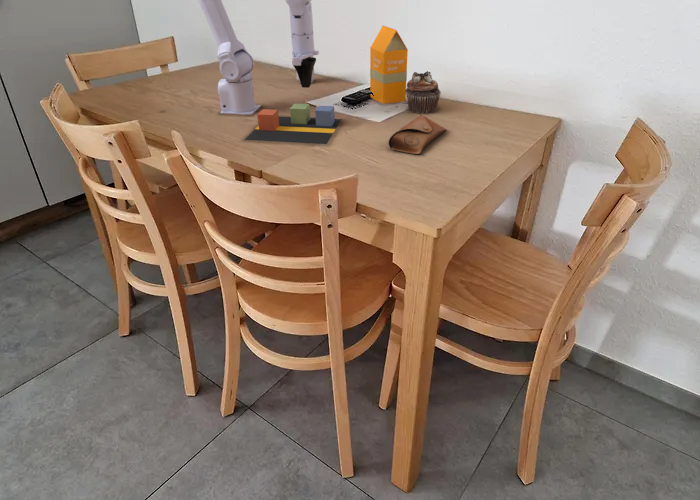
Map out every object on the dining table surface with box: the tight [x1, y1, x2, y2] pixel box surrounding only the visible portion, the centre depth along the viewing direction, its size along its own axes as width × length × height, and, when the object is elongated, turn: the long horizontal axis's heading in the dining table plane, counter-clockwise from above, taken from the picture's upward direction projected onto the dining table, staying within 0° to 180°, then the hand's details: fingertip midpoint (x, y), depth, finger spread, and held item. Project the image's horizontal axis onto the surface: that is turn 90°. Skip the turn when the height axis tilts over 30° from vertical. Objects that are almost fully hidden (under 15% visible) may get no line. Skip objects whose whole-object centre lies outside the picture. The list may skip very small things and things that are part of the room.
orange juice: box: [369, 25, 409, 105], centre depth 143 cm, size 8×9×20 cm
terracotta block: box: [256, 108, 280, 131], centre depth 128 cm, size 4×4×4 cm
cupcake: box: [406, 70, 442, 114], centre depth 137 cm, size 10×10×10 cm
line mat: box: [244, 116, 342, 145], centre depth 128 cm, size 21×18×1 cm
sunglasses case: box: [388, 113, 448, 155], centre depth 120 cm, size 18×7×7 cm
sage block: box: [289, 103, 311, 124], centre depth 131 cm, size 4×4×4 cm
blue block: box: [314, 105, 336, 127], centre depth 129 cm, size 4×4×4 cm
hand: (306, 86), depth 134 cm, fingers closed
